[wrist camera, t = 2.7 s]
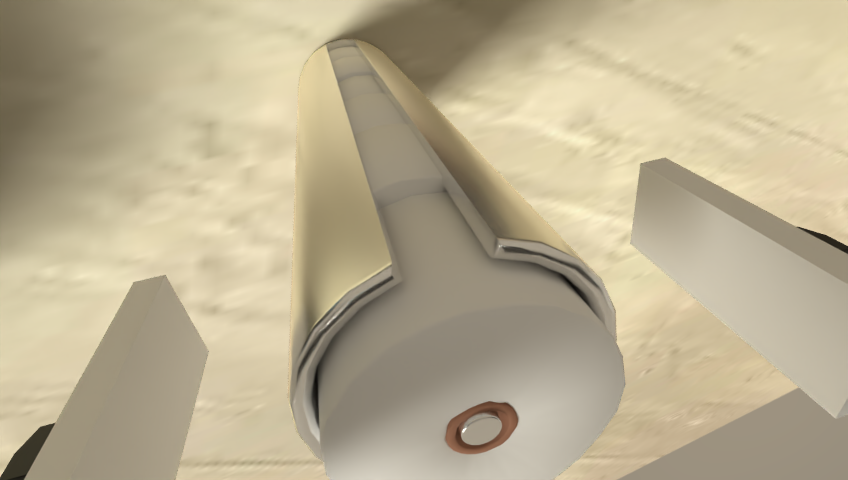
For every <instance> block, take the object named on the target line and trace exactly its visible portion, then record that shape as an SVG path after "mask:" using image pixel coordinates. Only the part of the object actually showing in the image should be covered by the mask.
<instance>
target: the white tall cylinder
mask: <svg viewBox="0 0 848 480" xmlns="http://www.w3.org/2000/svg"><path fill="white" fill-rule="evenodd" d="M616 340H617V336H616V310H615V308H614V306H613V304H612V301H611V299H610V297H609V295H608V292H607V290H606V288H605V286H604V283H603V281H602V279H601V278H600V277H599V276H598V275H597V274H596V273H595V272H594V271H593V270H592V269H591V268H590V267H589V266H588V265H587V263H586V262H585V261H584V260H583V259H582V258H581V257H580V256H579V255H578V254H577V253H576V252H575V251H574V250H573V249H572V248H571V247H570V246H569V245H568V244H567V243H566V242H565V241H564V240H563V239H562V237H561V236H560V235H559V234H558V233H557V232H556V231H555V230H554V229H553V228H552V227H551V226H550V225H549V224H548V223H547V222H546V221H545V220H544V219H543V218H542V217H541V216H540V215H539V214H538V213H537V212H536V210H535V209H534V208H533V207H532V206H531V205H530V204H529V203H528V202H527V201H526V200H525V199H524V198H523V197H522V196H521V195H520V194H519V193H518V192H517V191H516V190H515V189H514V188H513V187H512V186H511V184H510V183H509V182H508V181H507V180H506V179H505V178H504V177H503V176H502V175H501V174H500V173H499V172H498V171H497V170H496V169H495V168H494V167H493V166H492V165H491V164H490V163H489V162H488V161H487V160H486V158H485V157H484V156H483V155H482V154H481V153H480V152H479V151H478V150H477V149H476V148H475V147H474V146H473V145H472V144H471V143H470V142H469V141H468V140H467V139H466V138H465V137H464V136H463V135H462V134H461V133H460V131H459V130H458V129H457V128H456V127H455V126H454V125H453V124H452V123H451V122H450V121H449V120H448V119H447V118H446V117H445V116H444V115H443V114H442V113H441V112H440V111H439V110H438V109H437V108H436V107H435V105H434V104H433V103H432V102H431V101H430V100H429V99H428V98H427V97H426V96H425V95H424V94H423V93H422V92H421V91H420V90H419V89H418V88H417V87H416V86H415V85H414V84H413V83H412V82H411V81H410V80H409V78H408V77H407V76H406V75H405V74H404V73H403V72H402V71H401V70H400V69H399V68H398V67H397V66H396V65H395V64H394V63H393V62H392V61H391V60H390V59H389V58H388V57H387V56H386V55H385V54H384V53H383V52H382V51H381V50H380V49H378V48H377V47H375V46H373V45H371V44H369V43H368V42H364V41H360V40H356V39H340V40H336V41H333V42H330V43H327V44H325V45H324V46H322V47H321V48H319V49H318V50H317V51H315V52H314V53H313V54H312V55H311V57H310V58H309V59H308V60H307V62H306V63H305V65H304V67H303V70H302V72H301V75H300V78H299V87H298V107H297V136H296V165H295V194H294V224H293V253H292V282H291V311H290V340H289V370H288V401H289V405H290V409H291V413H292V417H293V421H294V425H295V429H296V432H297V433H298V435H299V436H300V437H301V439H302V440H303V441H304V443H305V444H306V445H307V447H308V448H309V449H310V451H311V452H312V453H313V455H314V456H315V457H317V458H318V459H320V460H321V461H323V462H324V467H325V471H326V475H327V477H328V478H329V479H330V480H553V479H555V478H556V477H557V476H558V475H560V474H561V473H562V472H563V471H565V470H566V469H567V468H568V467H570V466H571V465H572V464H573V463H575V462H576V461H577V460H578V459H579V458H580V457H581V456H582V455H583V454H584V453H585V452H586V451H587V449H588V448H589V447H590V446H591V445H592V444H593V443H594V441H595V440H596V439H597V438H598V437H599V436H600V434H601V433H602V432H603V430H604V429H605V427H606V426H607V425H608V423H609V422H610V420H611V419H612V418H613V416H614V415H615V413H616V412H617V410H618V406H619V403H620V400H621V397H622V394H623V390H624V387H625V375H624V365H623V356H622V354H621V352H620V350H619V347H618V345H617V343H616Z"/></svg>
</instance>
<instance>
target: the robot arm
mask: <svg viewBox="0 0 848 480" xmlns="http://www.w3.org/2000/svg"><path fill="white" fill-rule="evenodd" d="M630 244H631V245H632V246H634V247H635V248H636V249H637V250H638V251H639V252H641V253H642V254H643V255H644V256H645V257H646V258H648V259H649V260H650V261H651V262H652V263H653V264H655V265H656V266H657V267H658V268H659V269H661V270H662V271H663V272H664V273H665V274H666V275H668V276H669V277H670V278H671V279H672V280H673V281H675V282H676V283H677V284H678V285H679V286H680V287H682V288H683V289H684V290H685V291H686V292H688V293H689V294H690V295H691V296H692V297H693V298H695V299H696V300H697V301H698V302H699V303H700V304H702V305H703V306H704V307H705V308H706V309H708V310H709V311H710V312H711V313H712V314H713V315H715V316H716V317H717V318H718V319H719V320H720V321H722V322H723V323H724V324H725V325H726V326H727V327H729V328H730V329H731V330H732V331H733V332H735V333H736V334H737V335H738V336H739V337H740V338H742V339H743V340H744V341H745V342H746V343H747V344H749V345H750V346H751V347H752V348H753V349H754V350H756V351H757V352H758V353H759V354H760V355H762V356H763V357H764V358H765V359H766V360H767V361H769V362H770V363H771V364H772V365H773V366H774V367H776V368H777V369H778V370H779V371H780V372H781V373H783V374H784V375H785V376H786V377H787V378H789V379H790V380H791V381H792V382H793V383H794V384H796V385H797V386H798V387H799V388H800V389H802V390H803V391H804V392H805V393H806V394H807V395H808V396H810V397H811V398H812V399H813V400H814V401H816V402H817V403H818V404H819V405H820V406H821V407H823V408H824V409H825V410H826V411H827V412H828V413H830V414H831V415H832V416H833V417H834V418H836V419H837V418H840V417H843V416H846V415H848V246H846V245H844V244H842V243H840V242H838V241H837V240H835V239H833V238H831V237H829V236H827V235H824V234H820V233H817V232H814V231H811V230H807V229H804V228H801V227H795V226H794V225H792V224H790V223H788V222H786V221H784V220H782V219H780V218H778V217H776V216H775V215H773V214H771V213H769V212H767V211H765V210H763V209H761V208H759V207H758V206H756V205H754V204H752V203H750V202H748V201H746V200H744V199H742V198H740V197H739V196H737V195H735V194H733V193H731V192H729V191H727V190H725V189H723V188H722V187H720V186H718V185H716V184H714V183H712V182H710V181H708V180H706V179H704V178H703V177H701V176H699V175H697V174H695V173H693V172H691V171H689V170H687V169H686V168H684V167H682V166H680V165H678V164H676V163H674V162H672V161H670V160H668V159H667V158H662V159H658V160H653V161H649V162H645V163H641V165H640V172H639V180H638V188H637V196H636V203H635V211H634V219H633V227H632V234H631V242H630ZM208 352H209V351H208V349H207V347H206V346H205V344H204V342H203V340H202V339H201V337H200V335H199V333H198V332H197V330H196V328H195V326H194V325H193V323H192V321H191V319H190V317H189V316H188V314H187V312H186V310H185V309H184V307H183V305H182V303H181V302H180V300H179V298H178V296H177V295H176V293H175V291H174V289H173V288H172V286H171V284H170V282H169V281H168V279H167V277H166V275H163V276H159V277H154V278H150V279H146V280H141V281H137V282H134V283H133V285H132V287H131V288H130V290H129V292H128V294H127V295H126V297H125V299H124V301H123V303H122V304H121V306H120V308H119V310H118V312H117V313H116V315H115V317H114V319H113V321H112V322H111V324H110V326H109V328H108V330H107V331H106V333H105V335H104V337H103V339H102V340H101V342H100V344H99V346H98V348H97V349H96V351H95V353H94V355H93V357H92V358H91V360H90V362H89V364H88V366H87V367H86V369H85V371H84V373H83V375H82V376H81V378H80V380H79V382H78V384H77V385H76V387H75V389H74V391H73V393H72V394H71V396H70V398H69V400H68V402H67V403H66V405H65V407H64V409H63V410H62V412H61V414H60V416H59V418H58V419H57V421H56V423H53V424H49V425H46V426H42V427H40V428H39V429H38V430H37V431H36V432H35V433H34V434H33V435H32V436H31V437H30V438H29V439H28V440H27V441H26V442H25V443H24V444H23V446H22V447H21V448H20V449H19V450H18V451H17V452H16V453H15V454H14V456H13V457H12V459H11V460H10V462H9V464H8V465H7V467H6V469H5V470H4V472H3V474H2V475H1V477H0V480H175V479H176V475H177V471H178V467H179V464H180V460H181V456H182V452H183V448H184V444H185V440H186V437H187V433H188V429H189V425H190V421H191V417H192V414H193V410H194V406H195V402H196V398H197V394H198V390H199V387H200V383H201V379H202V375H203V371H204V367H205V364H206V360H207V356H208Z"/></svg>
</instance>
